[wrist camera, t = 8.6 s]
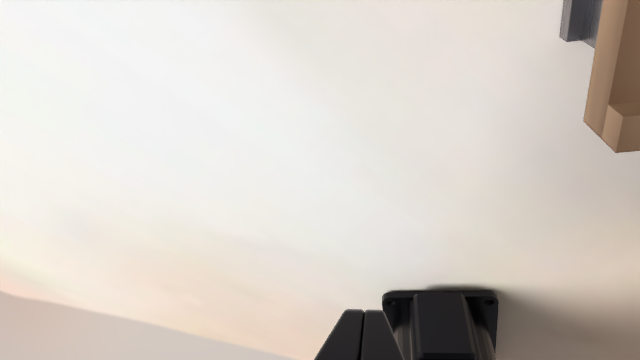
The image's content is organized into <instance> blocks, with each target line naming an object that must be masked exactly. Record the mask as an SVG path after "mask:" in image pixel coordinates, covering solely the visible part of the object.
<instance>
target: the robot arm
mask: <svg viewBox="0 0 640 360" xmlns="http://www.w3.org/2000/svg"><path fill="white" fill-rule="evenodd" d="M488 299H490V300H488ZM390 300H391V301H390ZM382 307H383V311H382V310H366V311H365V313H364V311H363V310H361V309H347V310H345V311H344V313H343V314H342V316H341V317H340V319H339V321H338V322H337V324H336V325H335V327H334V329H333V330H332V332H331V333H330V335H329V337H328V338H327V340H326V341H325V343H324V345H323V346H322V348H321V349H320V351H319V353H318V354H317V356H316V357H315V359H314V360H496V357H495V346H496V331H497V317H498V299H497V295H496V294H495V293H494V292H492V291H446V292H389V293H386V294H384V295H383V296H382Z"/></svg>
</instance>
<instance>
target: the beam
mask: <svg viewBox="0 0 640 360" xmlns="http://www.w3.org/2000/svg"><path fill="white" fill-rule="evenodd" d="M584 122H585V123H586V124H587V125H588V126H589V127H590V128H591V129H592V130H593V131H594V132H595V133H596V134H597V135H598V136H599V137H600V138H601V139H602V140H603V141H604V142H605V143H606V144H607V145H608V146H609V147H610V148H611V149H612V150H613V151H614V152H615V153H619V152H631V151H640V0H603V4H602V11H601V17H600V23H599V29H598V35H597V41H596V47H595V53H594V60H593V66H592V72H591V78H590V84H589V90H588V96H587V102H586V109H585V115H584Z"/></svg>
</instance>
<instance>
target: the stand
mask: <svg viewBox="0 0 640 360" xmlns="http://www.w3.org/2000/svg"><path fill="white" fill-rule="evenodd" d="M602 4H603V0H564V3H563V11H562V20H561V28H560V38H562V39H563V40H565V41H566V42H571V41H578V40H582V41H584V42H585V43H587V44H588V45H590V46H591V47H593V48H595V47H596V41H597V35H598V29H599V23H600V17H601V11H602Z"/></svg>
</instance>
